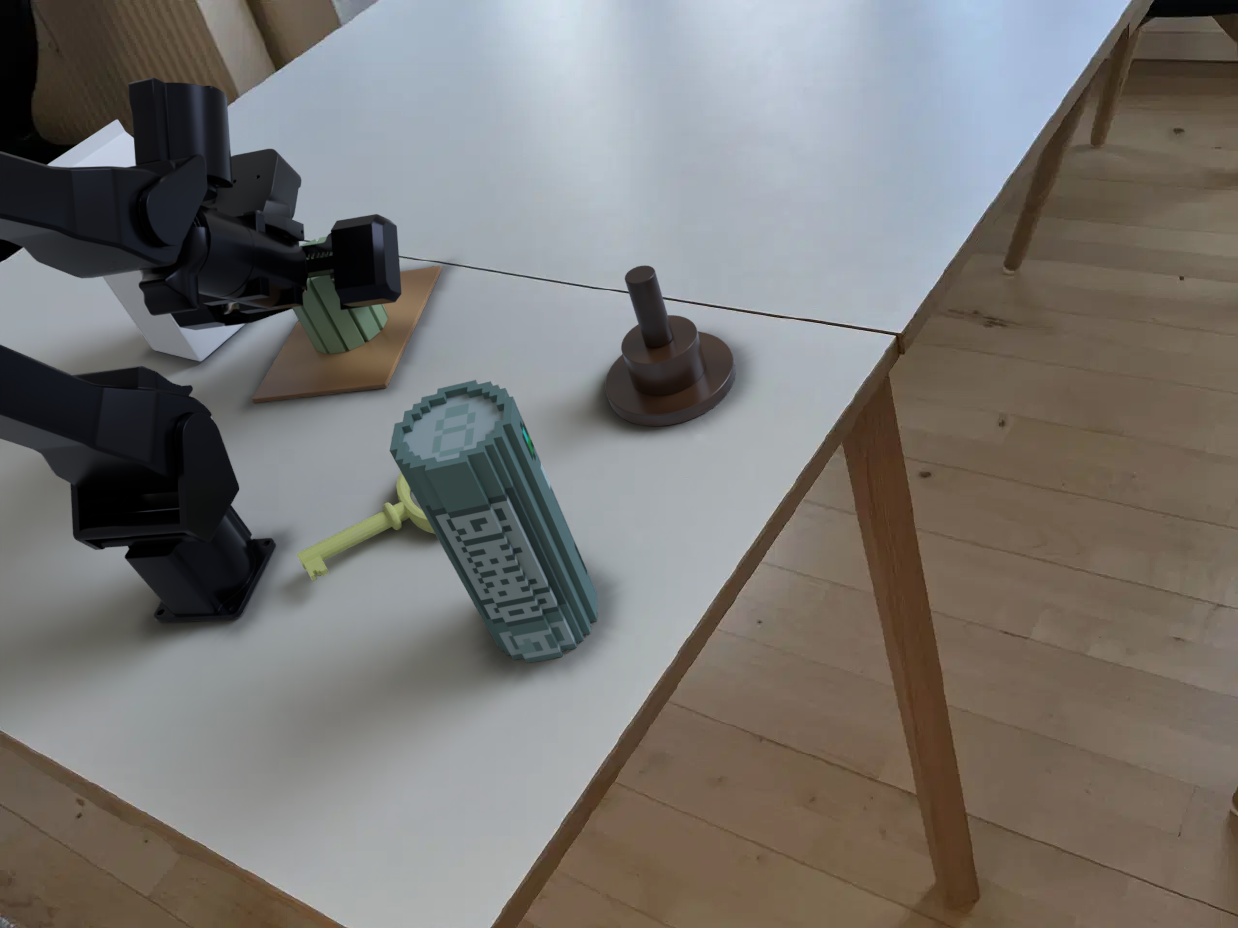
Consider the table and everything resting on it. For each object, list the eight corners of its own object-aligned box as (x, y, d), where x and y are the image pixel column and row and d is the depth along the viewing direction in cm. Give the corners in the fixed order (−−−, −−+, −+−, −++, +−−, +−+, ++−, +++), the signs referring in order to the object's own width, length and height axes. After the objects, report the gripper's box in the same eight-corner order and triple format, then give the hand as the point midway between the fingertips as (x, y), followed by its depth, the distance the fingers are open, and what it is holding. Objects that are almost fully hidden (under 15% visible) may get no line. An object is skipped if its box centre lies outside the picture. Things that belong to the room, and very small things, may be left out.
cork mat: (387, 387, 82) (384, 383, 82) (253, 403, 86) (251, 399, 85) (442, 269, 93) (440, 265, 93) (322, 286, 97) (320, 283, 97)
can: (596, 567, 63) (514, 370, 53) (597, 649, 58) (508, 451, 48) (498, 586, 64) (399, 397, 54) (492, 669, 59) (383, 479, 49)
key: (299, 580, 69) (284, 558, 67) (435, 459, 74) (423, 437, 73) (365, 624, 64) (350, 602, 63) (504, 492, 70) (493, 469, 68)
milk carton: (258, 314, 96) (142, 120, 84) (201, 364, 92) (71, 168, 80) (210, 305, 100) (92, 118, 88) (154, 352, 96) (22, 163, 84)
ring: (403, 313, 89) (368, 242, 84) (346, 361, 86) (307, 289, 81) (354, 299, 93) (318, 230, 88) (298, 344, 90) (258, 275, 85)
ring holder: (730, 419, 69) (702, 307, 63) (598, 432, 72) (559, 325, 66) (740, 334, 75) (715, 225, 70) (619, 348, 78) (584, 244, 72)
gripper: (330, 116, 71) (436, 178, 86) (101, 162, 76) (239, 212, 91) (342, 282, 71) (446, 315, 86) (111, 316, 76) (247, 341, 91)
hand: (341, 292), depth 89 cm, fingers closed on ring, 6 cm apart
